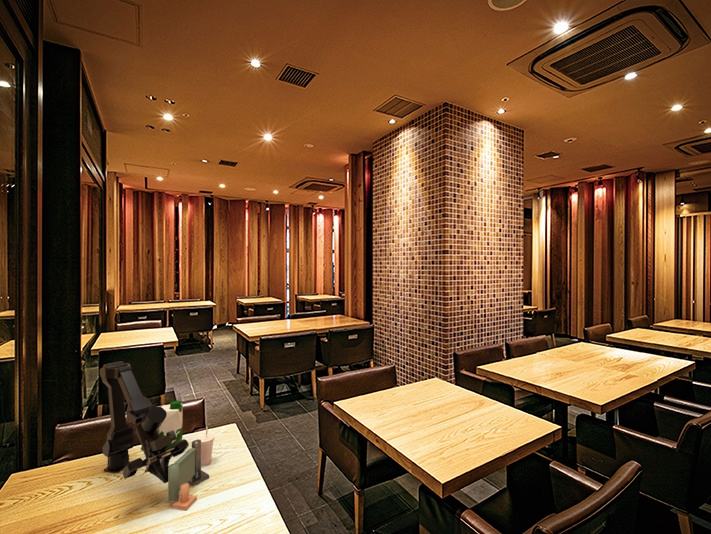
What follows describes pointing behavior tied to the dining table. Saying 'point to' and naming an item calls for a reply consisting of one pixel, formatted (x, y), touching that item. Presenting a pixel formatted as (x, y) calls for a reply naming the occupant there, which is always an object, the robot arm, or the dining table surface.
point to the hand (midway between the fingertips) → (166, 482)
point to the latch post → (184, 498)
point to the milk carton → (172, 421)
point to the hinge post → (198, 466)
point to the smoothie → (206, 447)
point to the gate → (180, 473)
